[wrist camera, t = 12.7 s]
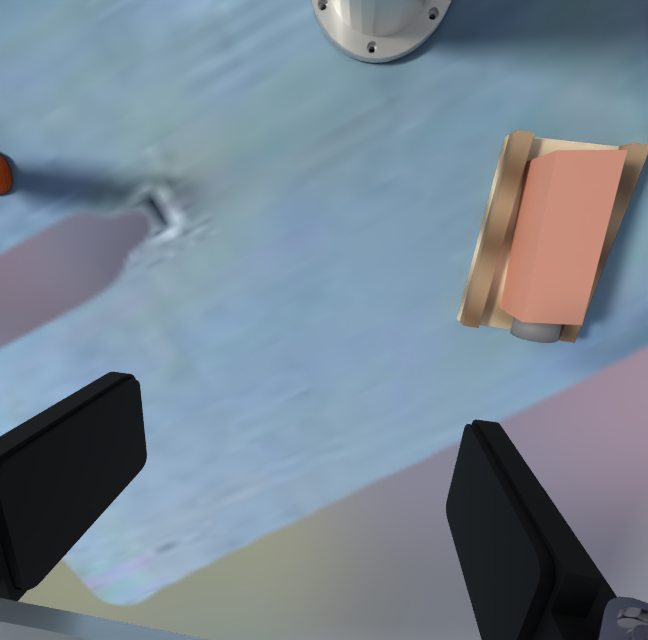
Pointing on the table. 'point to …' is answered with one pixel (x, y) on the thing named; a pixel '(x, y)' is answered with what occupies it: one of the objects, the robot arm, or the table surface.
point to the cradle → (501, 218)
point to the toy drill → (4, 176)
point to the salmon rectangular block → (559, 239)
